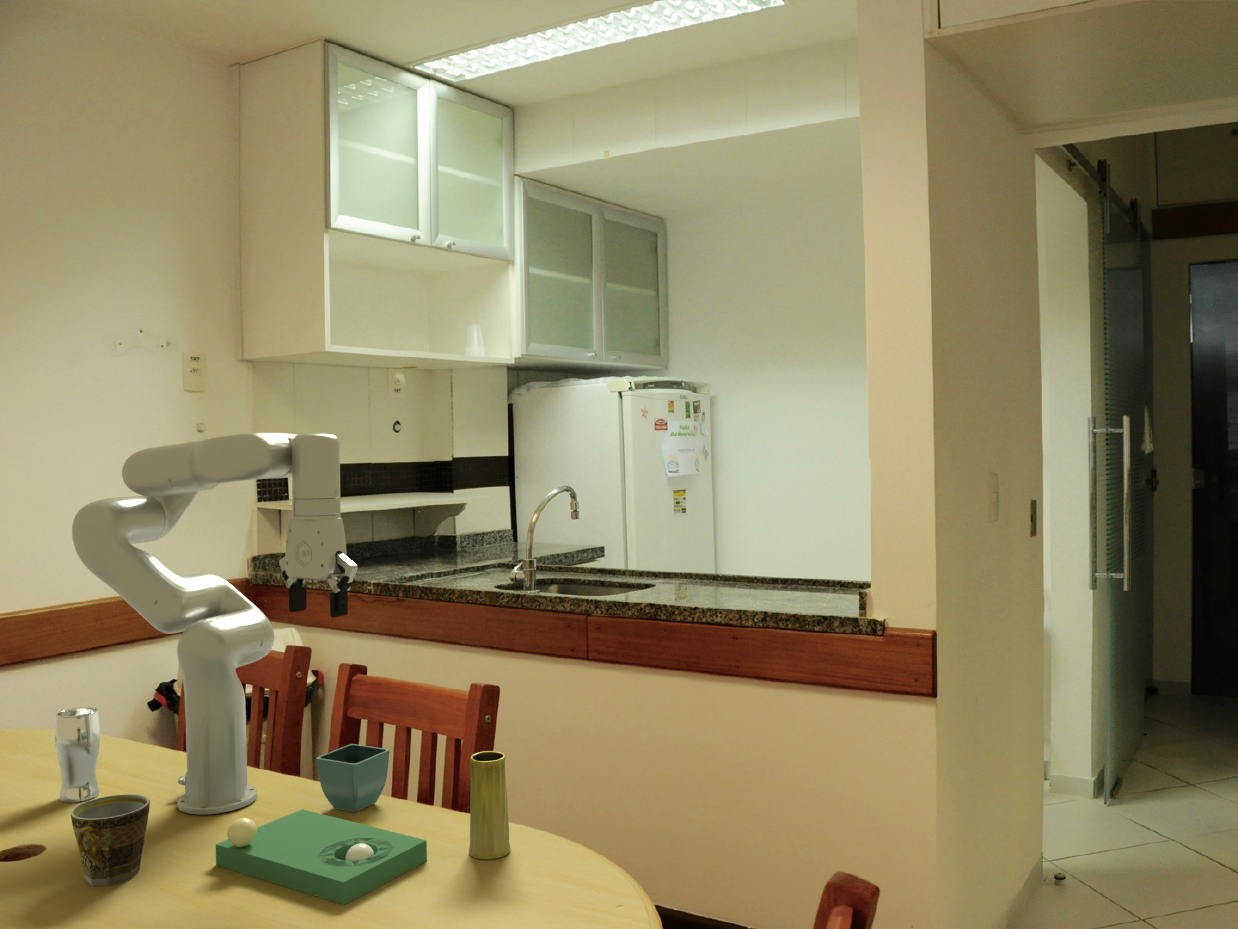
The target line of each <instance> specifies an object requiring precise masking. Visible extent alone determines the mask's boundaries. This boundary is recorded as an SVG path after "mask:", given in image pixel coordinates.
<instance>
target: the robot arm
mask: <svg viewBox="0 0 1238 929" xmlns="http://www.w3.org/2000/svg"><path fill="white" fill-rule="evenodd" d="M340 447H341V446H340V440H339V438H338V436H336V435H335V434H333V433H331V434H329V433H301V434H296V433H290V432H289V433H287V432H247V433H244V432H243V433H239V434H238V433H237V434H236V433H235V434H232V435H231V434H230V435H224V436H217V437H211V438H206V439H200V440H195V441H188V442H183V443H182V442H181V443H174V444H168V445H162V446H154V447H147V448H145V449H141V450H140V449H139V450H138V451H136V452H134V453H133V454H131V455H129V457H128V458H127V459H125V461H124V463H123V465H122V468H121V469H122V470H121V477H122V478H121V479H122V481H123V482H124V484H125V486H126V487H127V488H128V490H130V491H131V492H133V493H134V494H137V495H136V496H135V495H133V496H122V497H110V498H102V499H98V500H95V501H91V502H90V503H87V504H85V505H84V506H83V507H82V508H80V509H79V510H78V512H77V513H76V514H75V515H74V518H73V521H72V526H71V535H72V536H71V537H72V542H73V546H74V549H75V551H76V554H77V556H78V558H79V560H80V561H81V562H82V564H83V565H84V566H85V567H86V569H87V570H89V572H90V573H92V574H93V575H94V576H95V577H96V578H98V579H99V580H100V581H102V582H103V583H104V584H106V585H107V586H108V587H110V588H111V589H112V590H113V591H114V592H116V594H117V595H119V596H120V597H121V598H122V599H123V600H124V602H126V603H127V604H128V605H129V606H130V607H131V608H133V609H134V610H135V611H136V612H137V614H139V615H140V616H141V617H142V618H143V619H144V620H145V621H147V622H148V623H149V624H150V625H151V626H152V627H153V628H154V629H155V630H157V631H158V632H160V633H163V634H177V633H181V634H180V637H179V639H178V641H177V642H178V643H177V648H176V651H177V652H176V653H177V660H178V663H179V667H180V672H181V678H182V682H183V691H184V712H185V713H184V714H185V715H184V716H185V746H186V747H185V748H186V749H185V750H186V772H185V774H184V776H183V775H182V776H180V777H179V778H178V779H177V783H178V784H179V785H180V786H181V785H182V786H184V790H185V791H184V792H185V793H184V794H182V795H181V796H180V797H179V798H178V800H177V809H178V811H180V812H182V813H185V814H190V815H199V816H200V815H203V816H204V815H217V814H223V813H227V812H232V811H236V810H239V809H242V808H244V807H247V806H249V805H250V804H252V803H254V801H255V800H257V797H258V790H257V788H256V787H254V786H253V785H250V784H248V764H247V763H248V759H247V756H248V755H247V752H248V749H247V714H246V713H247V710H246V697H245V695H246V694H245V690H244V688H243V687H244V686H243V684H242V682H241V680H240V679H239V677H238V674H237V671H236V669H237V668H240V667H244V666H246V665H249V664H252V663H255V662H257V661H259V660H261V659H263V658H264V657H266V656H267V655H268V654H269V653H270V652H271V650H272V648H273V646H274V643H275V631H274V627H273V625H272V623H271V621H270V620H269V618H268V617H267V615H265V614H264V612H263V611H262V610H261V609H260V608H258V607H257V606H256V605H255V604H254V603H253V602H252V601H250V600H249V599H248V598H247V597H246V596H245V595H244V594H243V593H242V592H241V591H239V590H238V589H237V588H236V587H235V586H233V585H232V584H231V583H230V582H229V581H228V580H226V579H224V578H223V577H221V576H219V575H216V574H213V573H209V572H208V573H202V572H201V573H195V574H190V575H178V574H177V573H174V572H173V571H172V570H171V569H170V568H168V567H166V566H165V565H164V564H163V563H162V561H160V560H159V559H158V558H157V557H156V556H154V555H152V554H151V553H149V552H146V551H145V550H143V549H140V548H138V547H136V546H134V545H135V544H140V543H149V542H150V543H151V542H156V541H159V540H160V539H162V538H164V537H166V536H167V535H168V534H169V533H171V531H173V529H174V528H175V526H176V525H177V524H178V522H179V521H180V520H181V518H182V516H183V515H184V514H185V512H186V511H187V510H188V508H189V507H190V505H191V504H192V502H194V499H195V498H196V496H198V494H199V492H200V491H201V492H202V491H209V490H212V489H213V490H214V489H215V488H216V487H217V486H219V484H226V483H233V482H240V481H253V480H255V481H256V480H263V479H265V480H267V479H268V480H269V479H286V478H288V479H289V478H291V480H292V483H291V484H292V491H291V492H292V504H291V508H292V517H290V518H289V521H288V527H287V530H286V540H285V542H286V543H285V556H283V557H282V558H280V559H279V560H278V564H279V567H280V569H281V573H282V574H281V575H282V578H283V580H284V581H285V587H286V588H287V589H288V611H289V613H296V612H302V611H306V610H307V603H308V602H307V586H306V585H304V584H305V583H306V580H308V581H309V580H310V581H325V580H326V581H327V583H328V584H329V586H330V588H331V590H332V592H329V615H330V617H331V618H337V617H342V616H347V615H348V613H349V608H348V606H349V603H348V601H349V600H348V593H349V592H348V591H351V586H352V585H353V584H354V582H355V577H356V575H357V572H358V569H359V567H358V564H356V563H355V562H354V561H353V560H351V559H350V558H349V557H348V555H347V554H348V553H347V541H346V532H345V527H344V521H343V518H342V517H341V514H342V513H341V456H340V455H341V454H340ZM337 580H338V581H337Z"/></svg>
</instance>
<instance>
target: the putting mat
mask: <svg viewBox="0 0 1238 929" xmlns="http://www.w3.org/2000/svg"><path fill="white" fill-rule="evenodd" d="M256 827H257V834H256V837H255V839H254V840H253V842H252V843H251V844H249V845H247V846H245V847H236V846H234V845H232V844H231V843H230V841H229V840H228V839H226V840H222V841H221V842H218V843H216V844H215V866H218V867H221V868H225V869H228V870H232V871H234V872H238V873H241V874H245V875H247V876H250V877H254V878H255V879H256V878H257V879H260V880H263V881H266V882H269V883H273V884H276V885H278V886H283V887H285V888H289V889H291V890H292V889H293V890H296V891H299V892H301V893H305V894H308V895H312V896H315V897H318V898H320V899H324V900H327V901H330V902H334V903H337V904H340V905H343V906H345V905H347V904H349V903H350V902H352V901H354V900H356V899H359V898H360V897H363V895H365V894H367V893H370V892H371V891H373V890H375V889H377V888H378V887H381V886H382V885H384V884H386V883H388V882H390V881H392V880H394V879H395V878H398V877H399V876H401V875H403V874H405V873H407V872H409V871H410V870H413V869H414V868H416V867H417V866H421V865H422V864H423V863H425V862H428V853H427V852H428V851H427V849H428V847H427V843H428V841H427V840H426V839H423V838H420V837H414V836H411V835H406V834H402V833H398V832H396V831H390V830H388V829H387V830H386V829H383V828H379V827H375V826H371V825H367V824H363V823H358V822H355V821H350V820H347V819H344V818H343V819H342V818H339V817H335V816H331V815H326V814H323V813H319V812H315V811H311V810H308V809H299V810H297V811H294V812H292V813H290V814H288V815H285V816H282V817H280V818H278V819H275V820H272V821H269V822H268V823H265V824H263V825H262V824H261V825H260V826H256ZM359 843H364V844H367V845H369V846H370V847H371V848H372V850H373V852H374V855H372V856H370V857H368V858H365V859H360V860H356V861H345V858H346V854H347V852H348V850H349V849H350V848H351V847H352V846H354V845H355V844H359Z"/></svg>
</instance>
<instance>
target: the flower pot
mask: <svg viewBox="0 0 1238 929" xmlns="http://www.w3.org/2000/svg"><path fill="white" fill-rule="evenodd" d="M389 759H390V749H389V748H382V747H376V746H370V745H369V746H368V745H362V744H357V743H356V744H354V743H350V744H347V745H345V746H342V747H340V748H337V749H335V750H332V751H330V752H328V753H324V754H322V755H319V756H317V757H315V760H316V766H317V772H318V777H319V783H320V787H321V790H322V792H323V794H324V797H325V798H326V800H327V801H328V802H329V804H330V805H331V806H332V807H333V808H334V809H336V810H343V811H347V812H353V813H357V812H359V811H361V810H363V809H365V808H368V807H370V806H372V805H373V804H376V802H377V801H379V798H380V796H381V794H382V793H383V790H384V788H385V786H386V785H385V784H386V781H387V777H388V771H389V769H388V768H389Z"/></svg>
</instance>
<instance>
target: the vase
mask: <svg viewBox="0 0 1238 929" xmlns="http://www.w3.org/2000/svg"><path fill="white" fill-rule="evenodd" d="M469 765H470V766H469V767H470V770H469V771H470V804H469V805H470V806H469V807H470V809H469V810H470V812H469V814H470V816H469V817H470V818H469V819H470V820H469V822H470V823H469V846H468V853H469V855H470V857H473V858H474V859H477V860H483V861H485V860H487V861H489V860H497V859H500V858H503V857H505V856H507V855H508V854H510V851H511V844H510V826H509V825H510V824H509V811H508V810H509V808H508V791H507V778H506V754H505V753H504V752H501V751H496V750H487V751H485V750H483V751H480V752H479V751H478V752H476V753H473V754H472V755H470V764H469Z"/></svg>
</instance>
